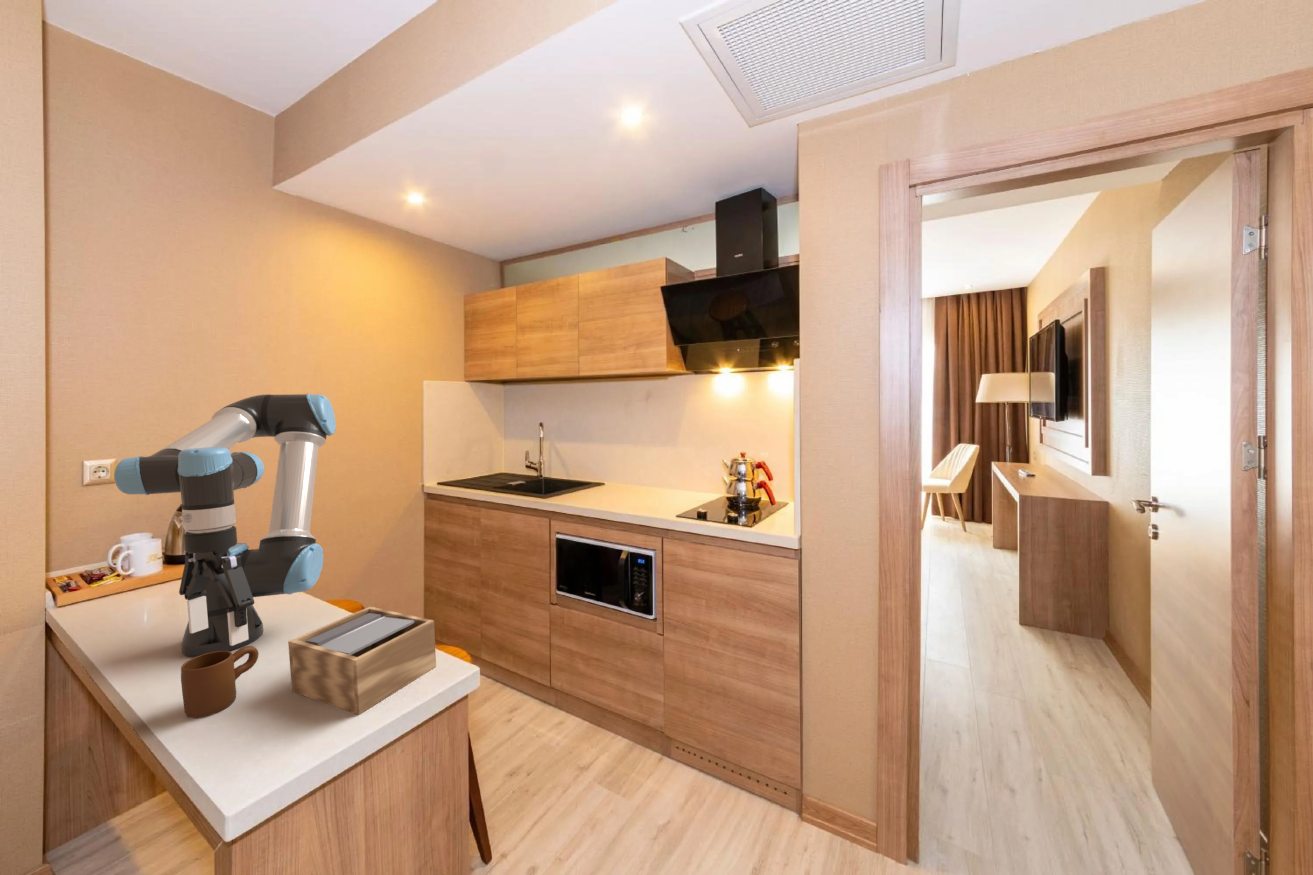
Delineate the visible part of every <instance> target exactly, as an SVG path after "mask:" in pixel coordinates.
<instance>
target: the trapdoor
mask: <svg viewBox="0 0 1313 875" xmlns="http://www.w3.org/2000/svg"><path fill="white" fill-rule="evenodd" d="M414 623H415V622H414V621H413V620H405V619H398V618H391V617H385V616H383V617H381V615H380V614H373V613H368V614H366V615H364V616H361V617H359V618H357V619H354V620H352V621H350V622H348V623H345V624H343V625H341V626H338V627H336V628H334V629H331V630H329V631H327V632H325V633H322V634H320V635H318V636H315V637H313V638H311V639H308V640H306V643H309V644H313V645H316V646H320V647H323V648H327V649H330V650H334V651H337V652H341V653H344V654H348V655H352V654H354V653H356V652H358V651H360V650H362V649H364V648H366V647H368V646H370V645H372V644H374V643H376V642H378V641H380V640H382V639H384V638H386V637H388V636H390V635H392V634H394V633H396V632H398V631H400V630H402V629H404V628H406V627H408V626H410V625H412V624H414Z"/></svg>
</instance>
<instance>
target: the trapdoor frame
mask: <svg viewBox="0 0 1313 875" xmlns="http://www.w3.org/2000/svg"><path fill="white" fill-rule="evenodd" d="M368 613H373V614H380V615H381V617H383V616H385V617H391V618H398V619H405V620H413V621H414V622H415V623H414V624H412V625H410V626H408V627H406V628H404V629H402V630H400V631H398V632H396V633H394V634H392V635H390V636H388V637H386V638H384V639H382V640H380V641H378V642H376V643H374V644H372V645H370V646H368V647H366V648H364V649H362V650H360V651H358V652H356V653H354V654H352V655H348V654H344V653H341V652H337V651H334V650H330V649H327V648H323V647H320V646H316V645H313V644H309V643H306V640H308V639H311V638H313V637H315V636H318V635H320V634H322V633H325V632H327V631H329V630H331V629H334V628H336V627H338V626H341V625H343V624H345V623H348V622H350V621H352V620H354V619H357V618H359V617H361V616H364V615H366V614H368ZM435 633H436V632H435V620H433V619H428V618H425V617H419V616H417V615H416V616H415V615H411V614H406V613H402V612H396V611H393V610H388V609H385V608H384V609H383V608H378V607H374V606H368V607H366V608H363V609H361V610H359V611H356V612H354V613H351V614H349V615H348V616H347V615H346V616H345V617H342V618H340V619H338V620H334V621H333V622H331V623H327V624H325V625H323V626H320V627H318V628H317V629H314V630H312V631H309V632H307V633H304V634H302V635H299V636H297V637H295V638H292V639H291V640H288V642H287V643H288V644H287V645H288V655H289V656H288V657H289V669H290V670H289V671H290V680H291V681H290V683H291V684H290V685H291V692H293V693H296V694H299V695H303V696H304V697H307V698H311V699H314V700H317V701H320V702H321V703H324V704H328V705H330V706H333V707H335V708H339V709H342V710H345V711H347V712H350V713H353V714H356V715H358V716H359V715H361V714H363V713H365V712H366V711H368V710H370V709H371V708H373V707H374V706H376V705H378V704H379V703H381V702H382V701H384V700H386V699H388V697H391V696H392V695H394V694H395V693H397V692H398V691H400V690H401V689H403V688H405V687H406V686H408V685H410V684H412V683H413V682H414V681H416V680H418V679H419V678H420V677H422V676H424V675H425V674H427V673H429V672H430V671H432V670H433V669H435V668H436V667H437V657H436V656H437V655H436V652H437V651H436V637H435V636H436V634H435Z"/></svg>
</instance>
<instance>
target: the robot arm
mask: <svg viewBox="0 0 1313 875" xmlns="http://www.w3.org/2000/svg"><path fill="white" fill-rule="evenodd" d="M336 425H337V424H336V416H335V412H334V409H333V405H332V403H331V401H330V400H329V398H328V397H327V396H325V395H323V394H314V393H313V394H312V393H304V394H302V393H299V394H293V393H292V394H270V393H269V394H259V395H258V394H257V395H252V396H249V397H246V398H242V399H240V400H237V401H235V402H232V403H230V404H228V405H225V406H223V407H222V408H220V409H218V410H217V411H216V412H214V414H213V415H212V416H211V419H210V420H209V421H207V422H205V423H203V424H202V425H200V426H198V427H197V428H195V429H193V430H191V431H190V432H189V433H187V434H185V435H183V436H181V437H180V438H179V439H177V440H175V441H174V442H172V443H170V444H168V445H167V446H165V447H164V448H162V449H160V450H159V451H157V452H155V453H152V455H151V454H150V456H149V455H148V456H139V455H138V456H135V457H134V456H132V457H126V458H124V459H121V460H120V461H119V462H118V463H117V465H116V467H115V469H114V471H113V472H114V474H113V478H114V481H115V486H116V487H117V489H118V491H120V492H121V493H124V494H127V495H145V496H149V495H154V494H155V495H159V494H160V495H161V494H175V493H176V494H177V493H180V499H181V512H182V514H181V515H180V517H179V519H180V521H182V526H183V529H184V530H185V531H186V532H185V533H184V534H183V542H184V551H185V552H184V560H185V562H184V567H183V571H182V577H181V580H180V585H179V590H178V594H179V595H180V596H184V599H185V600H186V605H187V616H188V621H187V624H186V627H185V630H184V633H183V636H182V640H181V646H180V647H181V653H182V655H183V656H187V657H192V658H195V657H197V656H200V655H203V654H206V653H210V652H215V651H230V652H232V651H234V650H236V649H240V648H242V647H246V646H248V644H249V645H250V644H251V643H253V642H255V641H257V640H258V639H259V638H260V637H261V636H263V634H264V624H263V621H262V618H261V617H260V616H259V614H258V612H257V610H256V608H255V606H254V605H255V599H254V598H260V597H267V596H268V597H269V596H278V595H279V596H280V595H293V594H296V593H303V592H306V591H308V590H310V589H312V588H314V586H315V584H316V583H317V582H318V580H319V577H320V576H321V573H322V570H323V565H324V550H323V547H322V546H321V545H320V544H319V543H317V538H316V537H315V536H314V535H313V534H311V523H312V516H313V515H312V513H313V507H314V506H313V504H314V503H313V502H314V495H315V485H316V474H317V464H318V457H319V448H322V446H324V445H325V444H326V442H327V436H328V437H330V436H333V435H335V431H336V428H337V427H336ZM267 437H268V438H269V437H271V438H273V440H274V441H275V442H276V443H277V444H278V445H279V450H278V451H279V454H278V460H277V467H276V469H277V470H276V476H275V483H274V488H273V490H274V491H273V498H272V507H271V513H270V522H269V528H268V533H267V534H265V535H264V536H263V537H262V538H260V539H259V546H258V548H254V549H253V548H252V549H250V548H249V547H250V546H249V545H248V544H247V543H246V542H238V535H237V533H238V532H237V527H236V526H234V525H235V524H236V523H237V518H236V517H237V516H236V515H237V514H236V503H235V494H234V491H237V490H241V489H246V488H248V487H250V486H252V485H254V484H256V483H258V482H259V481H260V480H261V479H262V477H263V476H264V472H265V466H264V463H263V460H261V458H260V457H259V456H257V455H256V454H253V453H252V452H248V451H247V452H245V451H240V452H239V451H238V452H237V451H235V452H232V453H231V451H230V450H229V449H231V448H233V447H234V446H235V445H236V444H238V443H244V442H247V441H249V440H250V439H254V438H267Z"/></svg>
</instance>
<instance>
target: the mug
mask: <svg viewBox="0 0 1313 875" xmlns="http://www.w3.org/2000/svg"><path fill="white" fill-rule="evenodd" d="M245 655H248V658H247V660H246V661H245V662H244V663H242V664H240V665H238V666H236V667H235V663H236V662H237V661H238V660H240V659H241V658H242V657H244V656H245ZM259 655H260V654H259V650H258V648H256V646H252V645H245V646H242V647H240V648H238V650H236V651H235V652H232V651H215V652H210V653H206V654H203V655H200V656H197V657H192V658H190V659H189V660H187V661H185V662H184V663H183V664H181V668H180V683H181V693H182V695H181V696H182V703H183V711H184V714H185V715H186V716H187V717H188V718H203V717H207V716H211V715H214V714H217V713H219V712H221V711H224V710H225V709H227V708H228V707H229V706H231V705H232V704H233V703H234V702H235V700H236V698H237V687H236V680H238V678H239V677H241V675H242V674H244V673H246V672H247V671H249V670H251V669H252V668H253V667H254V666H255V664H256V663H257V661H258V659H259Z"/></svg>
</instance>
